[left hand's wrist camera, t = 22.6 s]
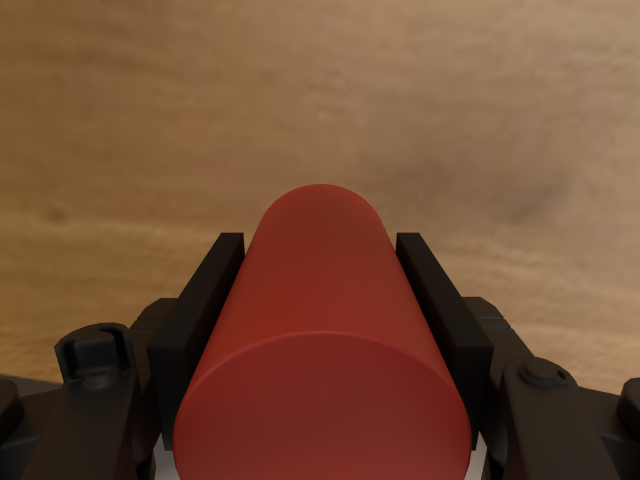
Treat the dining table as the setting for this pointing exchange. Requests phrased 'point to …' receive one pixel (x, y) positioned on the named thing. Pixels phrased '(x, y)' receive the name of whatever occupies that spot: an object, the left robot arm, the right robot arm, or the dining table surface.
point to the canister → (321, 360)
